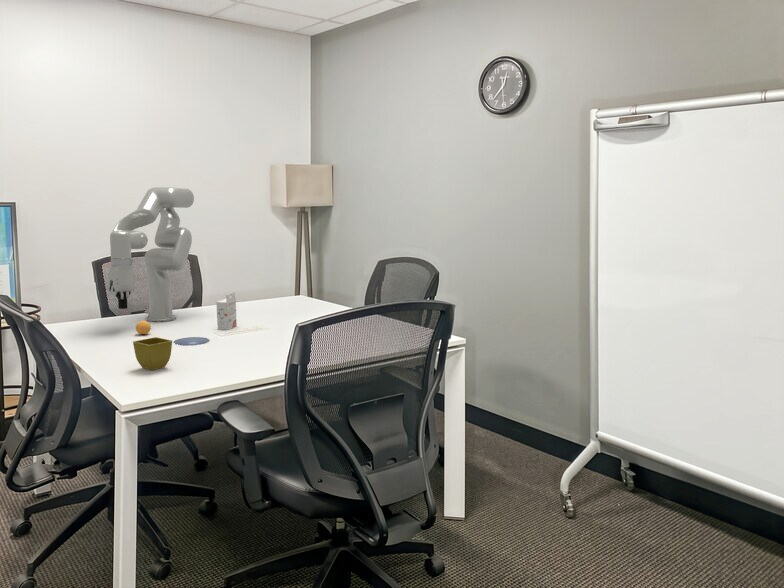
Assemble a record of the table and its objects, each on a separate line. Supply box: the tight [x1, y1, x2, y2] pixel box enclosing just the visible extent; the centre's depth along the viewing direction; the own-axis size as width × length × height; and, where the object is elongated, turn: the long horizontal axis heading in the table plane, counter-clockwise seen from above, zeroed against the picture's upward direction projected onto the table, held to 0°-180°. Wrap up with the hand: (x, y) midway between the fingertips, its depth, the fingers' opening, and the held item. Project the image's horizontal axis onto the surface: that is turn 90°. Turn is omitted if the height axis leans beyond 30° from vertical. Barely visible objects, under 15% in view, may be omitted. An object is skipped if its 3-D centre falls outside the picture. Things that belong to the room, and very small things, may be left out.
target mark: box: [173, 336, 210, 346], centre depth 241 cm, size 13×13×1 cm
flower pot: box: [132, 336, 173, 371], centre depth 203 cm, size 9×9×9 cm
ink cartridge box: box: [215, 292, 238, 331], centre depth 265 cm, size 9×5×15 cm, turn 168°
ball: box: [135, 320, 152, 335], centre depth 251 cm, size 6×6×6 cm
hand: (123, 308), depth 254 cm, fingers closed
